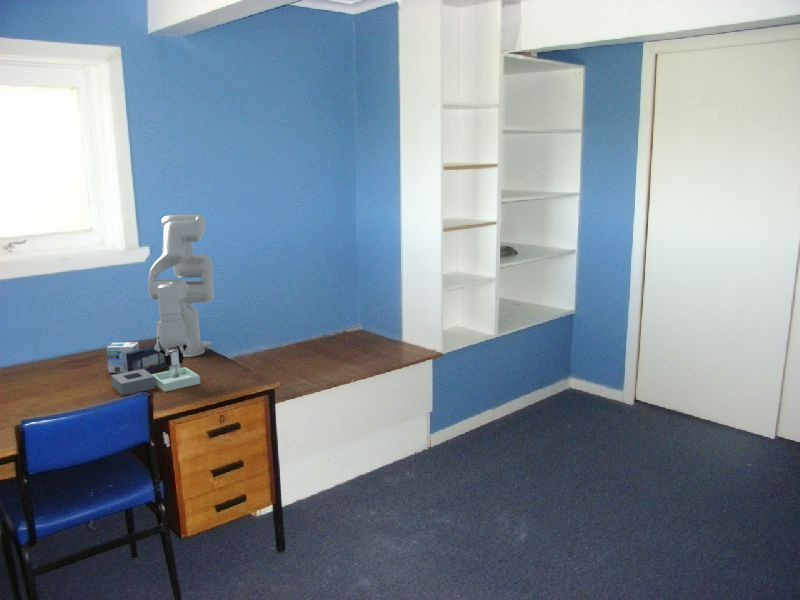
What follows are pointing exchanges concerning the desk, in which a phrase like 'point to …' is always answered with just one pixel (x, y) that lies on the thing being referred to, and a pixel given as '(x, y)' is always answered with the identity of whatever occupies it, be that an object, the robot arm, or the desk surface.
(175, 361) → the steel pin
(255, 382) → the desk surface
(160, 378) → the tray
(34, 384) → the desk surface
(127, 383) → the pin holder
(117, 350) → the light bulb box
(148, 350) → the vhs cassette tape
